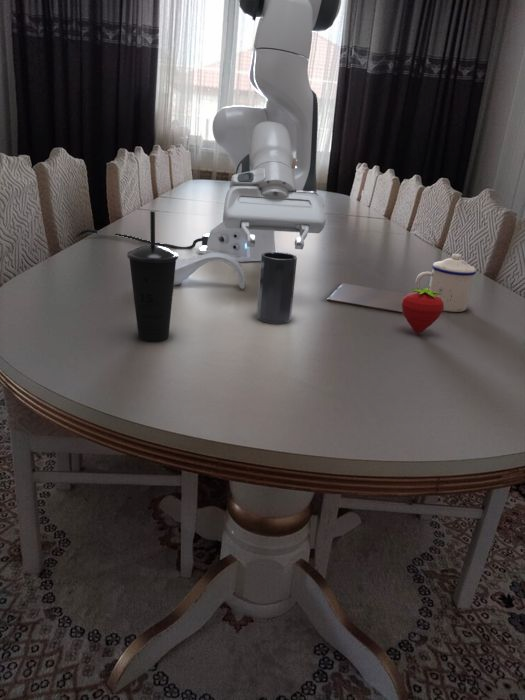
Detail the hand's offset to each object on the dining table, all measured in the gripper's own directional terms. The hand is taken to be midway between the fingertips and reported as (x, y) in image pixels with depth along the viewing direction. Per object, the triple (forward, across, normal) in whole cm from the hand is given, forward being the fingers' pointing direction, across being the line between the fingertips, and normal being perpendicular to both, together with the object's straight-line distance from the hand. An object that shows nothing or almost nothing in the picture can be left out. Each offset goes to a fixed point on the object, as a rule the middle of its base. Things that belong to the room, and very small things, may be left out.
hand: (275, 246), depth 99 cm
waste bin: (+13, 0, -5) cm, 14 cm away
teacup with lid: (+4, -39, -14) cm, 41 cm away
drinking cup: (+22, +22, +3) cm, 31 cm away
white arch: (-3, +16, -20) cm, 26 cm away
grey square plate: (+1, -24, -17) cm, 29 cm away
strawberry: (+17, -26, -1) cm, 31 cm away
